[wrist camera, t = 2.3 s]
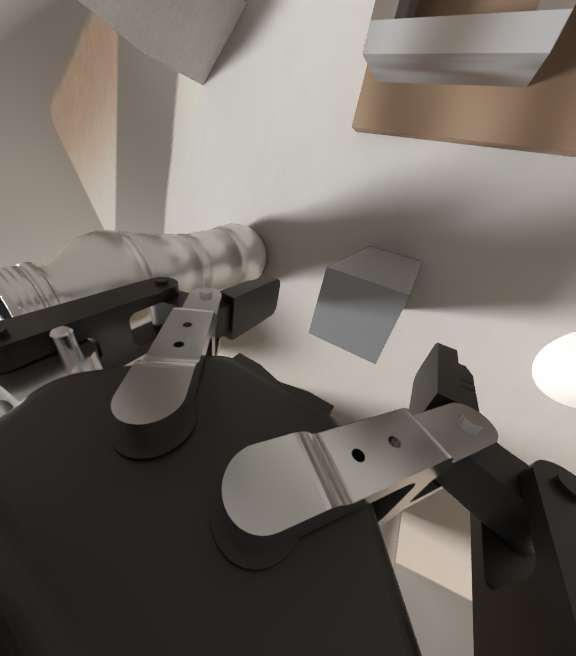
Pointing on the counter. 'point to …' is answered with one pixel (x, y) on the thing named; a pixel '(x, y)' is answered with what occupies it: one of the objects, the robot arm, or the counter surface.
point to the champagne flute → (557, 370)
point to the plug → (363, 300)
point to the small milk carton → (174, 29)
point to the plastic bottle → (133, 266)
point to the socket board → (472, 73)
